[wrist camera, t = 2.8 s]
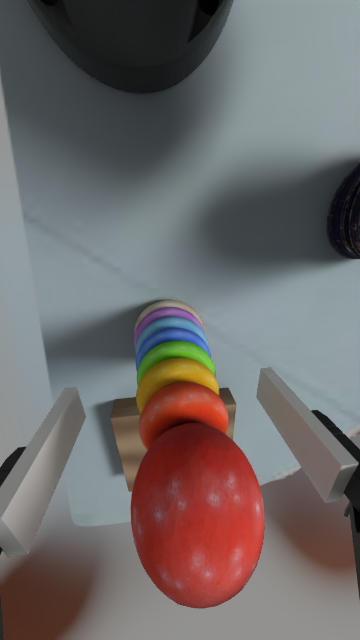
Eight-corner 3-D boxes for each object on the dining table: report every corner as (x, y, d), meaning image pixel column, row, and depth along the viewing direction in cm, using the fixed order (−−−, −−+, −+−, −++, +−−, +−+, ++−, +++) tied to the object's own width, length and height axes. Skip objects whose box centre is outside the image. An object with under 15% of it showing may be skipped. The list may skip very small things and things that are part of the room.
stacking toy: (191, 361, 25) (264, 637, 7) (130, 351, 23) (45, 666, 6) (210, 306, 22) (393, 538, 5) (142, 290, 20) (48, 547, 3)
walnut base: (115, 399, 26) (110, 418, 23) (228, 387, 27) (236, 404, 24) (131, 470, 32) (128, 491, 29) (222, 458, 33) (228, 477, 30)
